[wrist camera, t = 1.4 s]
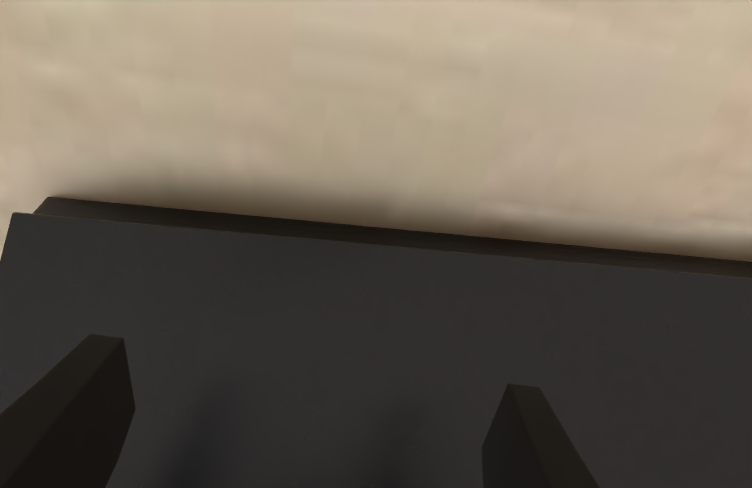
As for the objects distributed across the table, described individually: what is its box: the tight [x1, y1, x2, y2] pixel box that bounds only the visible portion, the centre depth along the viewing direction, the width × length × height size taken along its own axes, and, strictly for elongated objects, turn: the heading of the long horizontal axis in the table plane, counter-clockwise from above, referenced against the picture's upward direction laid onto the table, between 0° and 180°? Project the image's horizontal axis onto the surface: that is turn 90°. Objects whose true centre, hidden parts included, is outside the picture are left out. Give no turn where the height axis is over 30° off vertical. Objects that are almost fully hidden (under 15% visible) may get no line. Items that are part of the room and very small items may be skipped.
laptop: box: [33, 197, 752, 278], centre depth 26 cm, size 21×30×2 cm
